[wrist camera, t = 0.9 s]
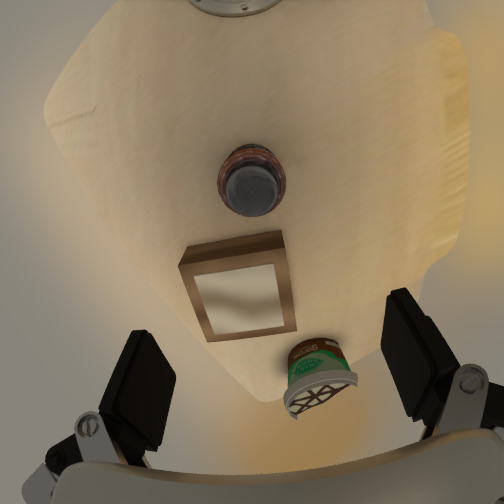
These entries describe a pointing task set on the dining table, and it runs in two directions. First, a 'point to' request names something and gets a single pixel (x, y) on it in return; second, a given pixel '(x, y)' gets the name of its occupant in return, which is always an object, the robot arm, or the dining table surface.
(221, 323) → the walnut base
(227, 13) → the robot arm
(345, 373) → the food container
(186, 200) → the dining table surface
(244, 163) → the supplement bottle
